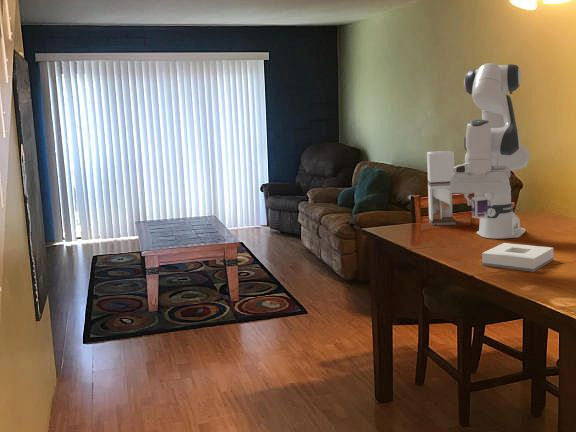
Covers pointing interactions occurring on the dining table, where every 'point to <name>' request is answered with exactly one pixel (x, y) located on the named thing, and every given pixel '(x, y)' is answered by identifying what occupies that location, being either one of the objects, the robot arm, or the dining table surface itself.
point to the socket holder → (517, 257)
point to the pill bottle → (479, 205)
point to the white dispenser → (440, 187)
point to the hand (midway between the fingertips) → (479, 205)
